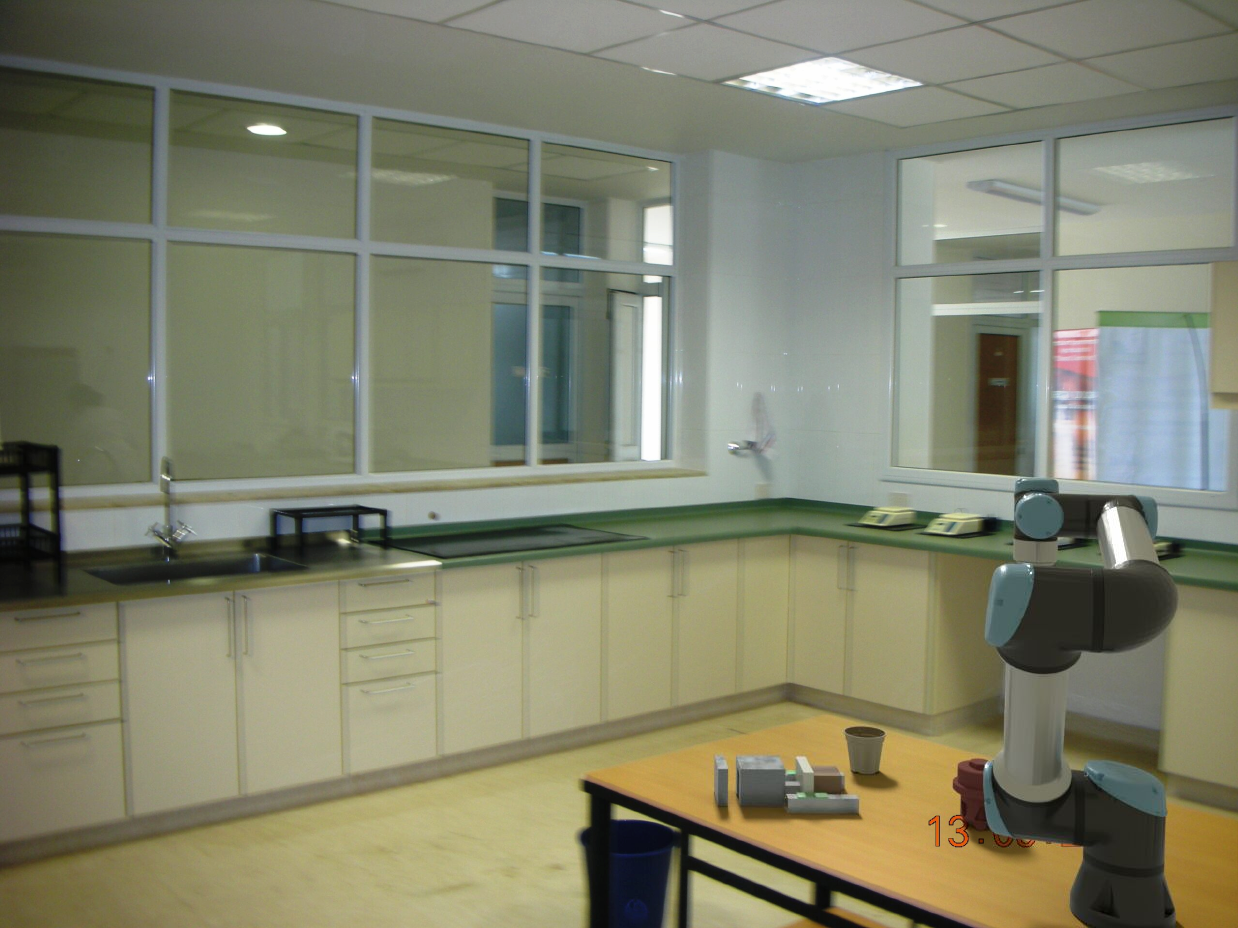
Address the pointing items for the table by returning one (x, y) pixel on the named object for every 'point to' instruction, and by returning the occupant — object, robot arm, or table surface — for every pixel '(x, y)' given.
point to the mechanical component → (971, 792)
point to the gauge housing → (775, 787)
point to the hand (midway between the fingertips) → (1031, 690)
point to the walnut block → (827, 779)
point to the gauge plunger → (801, 778)
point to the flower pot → (864, 748)
